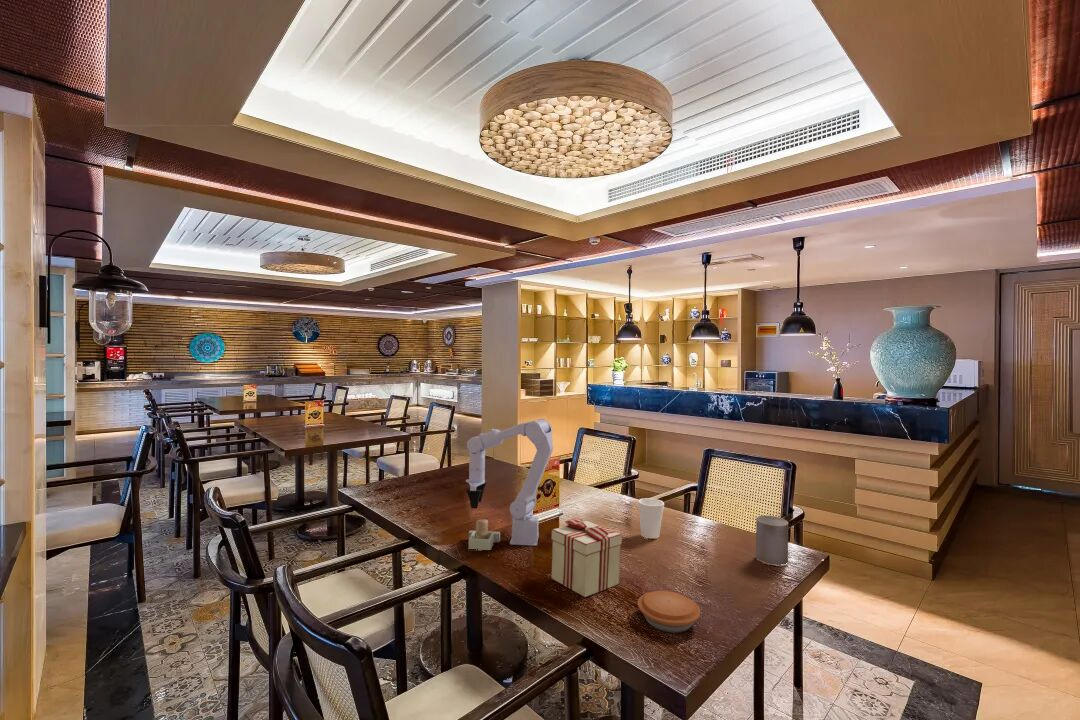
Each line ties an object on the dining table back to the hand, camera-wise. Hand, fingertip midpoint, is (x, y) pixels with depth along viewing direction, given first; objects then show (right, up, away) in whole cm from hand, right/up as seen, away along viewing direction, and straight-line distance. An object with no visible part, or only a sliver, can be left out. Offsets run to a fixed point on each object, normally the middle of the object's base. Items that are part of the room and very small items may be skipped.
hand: (476, 504), depth 179 cm
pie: (+56, -13, -56) cm, 81 cm away
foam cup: (+65, -12, 0) cm, 66 cm away
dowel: (+3, -10, -12) cm, 16 cm away
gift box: (+38, -12, -35) cm, 53 cm away
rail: (+4, -11, -7) cm, 13 cm away
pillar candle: (+101, -13, -19) cm, 103 cm away
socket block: (+3, -11, -12) cm, 17 cm away
